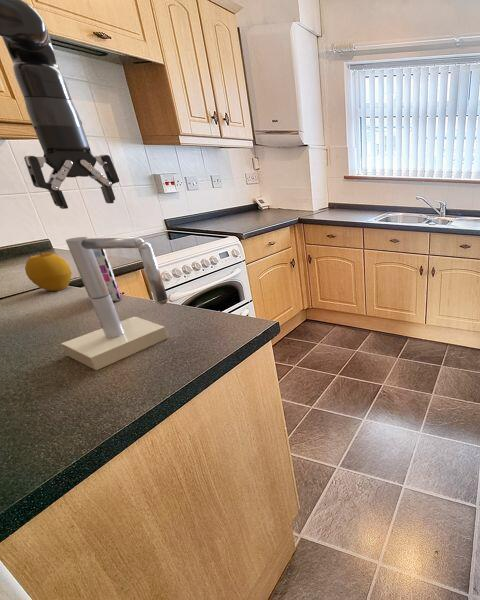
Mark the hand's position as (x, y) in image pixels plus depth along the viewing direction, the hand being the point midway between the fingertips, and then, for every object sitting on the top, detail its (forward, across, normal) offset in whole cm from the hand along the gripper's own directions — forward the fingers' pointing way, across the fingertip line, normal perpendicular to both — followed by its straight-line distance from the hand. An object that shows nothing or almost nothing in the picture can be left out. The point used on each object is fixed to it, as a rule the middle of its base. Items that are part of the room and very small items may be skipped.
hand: (88, 205), depth 75 cm
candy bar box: (+28, -5, -20) cm, 35 cm away
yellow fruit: (+28, -1, -43) cm, 51 cm away
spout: (+18, +6, +19) cm, 27 cm away
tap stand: (+28, +9, +14) cm, 33 cm away
